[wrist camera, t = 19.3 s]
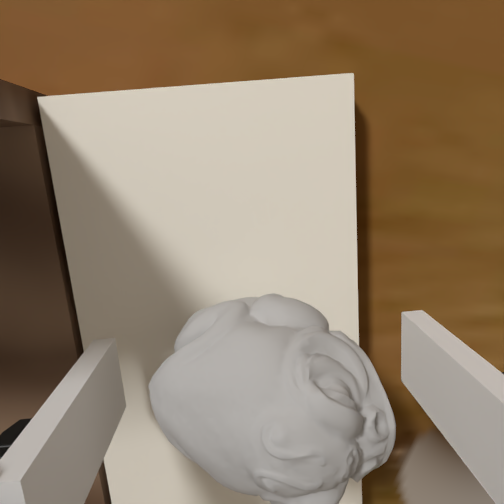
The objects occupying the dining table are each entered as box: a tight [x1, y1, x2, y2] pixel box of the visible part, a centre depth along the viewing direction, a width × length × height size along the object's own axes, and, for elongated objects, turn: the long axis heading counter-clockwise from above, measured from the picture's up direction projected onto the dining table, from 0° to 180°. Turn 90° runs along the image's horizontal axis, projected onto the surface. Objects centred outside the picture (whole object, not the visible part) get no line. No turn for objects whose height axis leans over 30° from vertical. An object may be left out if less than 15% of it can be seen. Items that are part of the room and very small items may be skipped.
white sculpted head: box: [148, 293, 396, 504], centre depth 13 cm, size 6×7×7 cm
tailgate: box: [37, 73, 362, 504], centre depth 17 cm, size 19×2×11 cm
